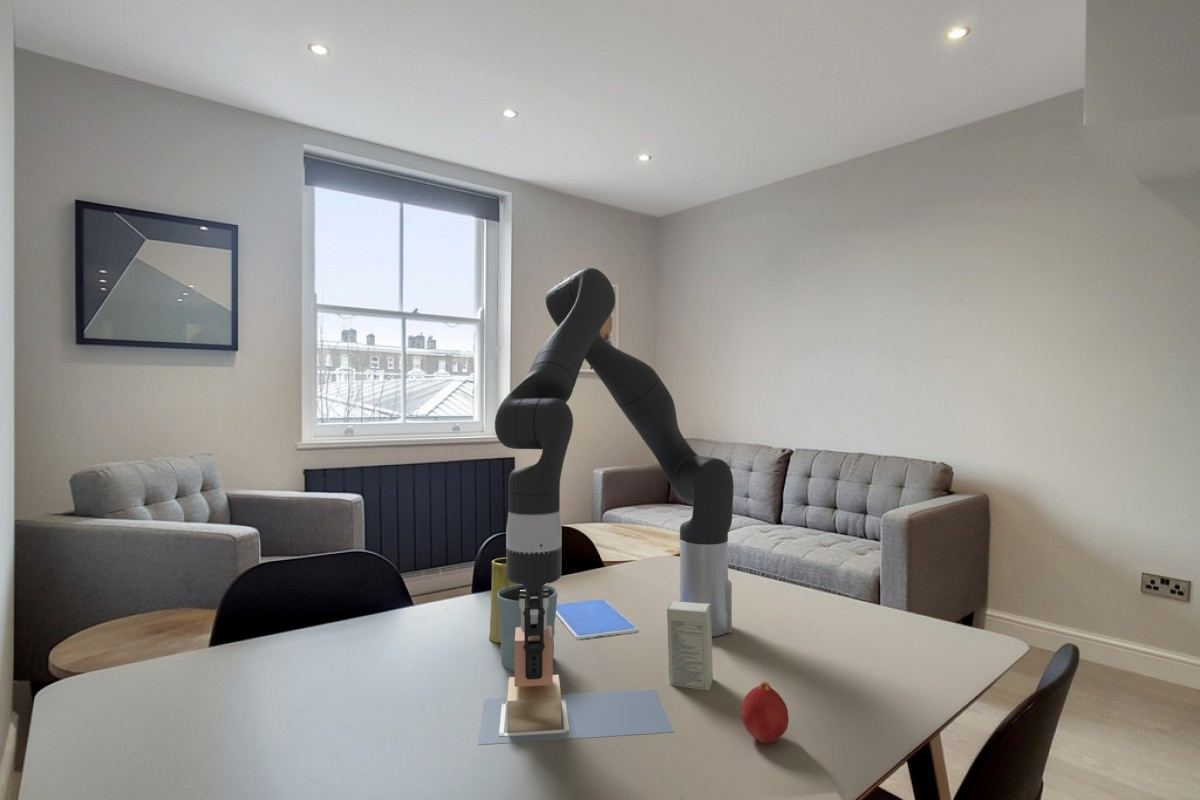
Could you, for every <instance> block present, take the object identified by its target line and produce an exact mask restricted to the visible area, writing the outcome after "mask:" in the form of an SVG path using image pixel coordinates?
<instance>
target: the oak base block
mask: <svg viewBox="0 0 1200 800" xmlns="http://www.w3.org/2000/svg"><path fill="white" fill-rule="evenodd" d="M559 676H560V675H559V674H553V685H541V686H522V687H515V676H509V677H508V683H507V685H508V686H507V697H506V698H507V732H518V731H534V730H550V729H561V694H562V693H561V684H560V677H559Z"/></svg>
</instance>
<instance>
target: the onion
mask: <svg viewBox="0 0 1200 800" xmlns="http://www.w3.org/2000/svg"><path fill="white" fill-rule="evenodd" d="M740 714H741V715H740V716H741V721H742V724H743V726H744V727H745V729H746V730H747V732H748V733H749V735H751V737H753V738H755V739H756V740H757V742H759V743H761V744H767V745H768V744H772V743H773V742H775V741H776V740H778V739H779V738H781V736H783V735H784V734H785V732H786V731H787V729H788V726H789V711H788V707H787V703H786V702H785V701H784V700H783V698H782V697H781V695H780V694H779V692H778V691H776V690H775V689H773V688H772V687H771V686H770V685H769V682H768V681H766V680H763V681H761V683H760V684H759V685H758V686H756V687H754V688H752V689H751V690H750V691H749V692H748V693H747V694H746V695H745V696H744V699H743V700H742V704H741V713H740Z"/></svg>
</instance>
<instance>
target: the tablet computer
mask: <svg viewBox="0 0 1200 800" xmlns="http://www.w3.org/2000/svg"><path fill="white" fill-rule="evenodd" d="M556 616H557V618H558V619H559V620H560V621H561V622H562V623H563V625H564V626H565V627H566V628H567V630H568V631H569V632H570V634H571V635H572V636H573V638H576V639H575V640H577V639H583V640H586V639H585V638H588V639H595V638H594V637H598V638H600V637H599V636H605V637H609V636H608V635H612V636H618V635H617V634H620V635H627V634H633V633H635V634H636V633H637V632H639V631H638V630H639V629H638V627H636V626H635V625H634V624H633V623H632V622H631V621H630V620H628V619H627V618H626V617H625V616H624V615H622V614H621V612H619V611H618V610H617V609H616V608H614V607H613V605H611V604H610V603H609V602H608V601H607V600H605V599H603V598H602V599H601V598H600V599H593V600H585V601H575V602H567V603H558V604H557V605H556ZM626 633H627V634H626Z"/></svg>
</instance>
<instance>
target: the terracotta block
mask: <svg viewBox="0 0 1200 800" xmlns="http://www.w3.org/2000/svg"><path fill="white" fill-rule="evenodd" d="M553 640H554V637H552V627H551V626H547V629H546V630H545V631H544V644H545V648H544V651H542V677H541V678H540V679H531V680H528V679H526V677H525V649H523V645H524V644H525V633H524V632H523V631H522V630H521V627H516V629H515V671H514V677H515V687H522V686H541V685H553V675H554V674H553V673H554V671H553V669H554V667H553V663H554V656H553ZM529 641H540V636H529V637H528V642H529Z"/></svg>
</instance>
